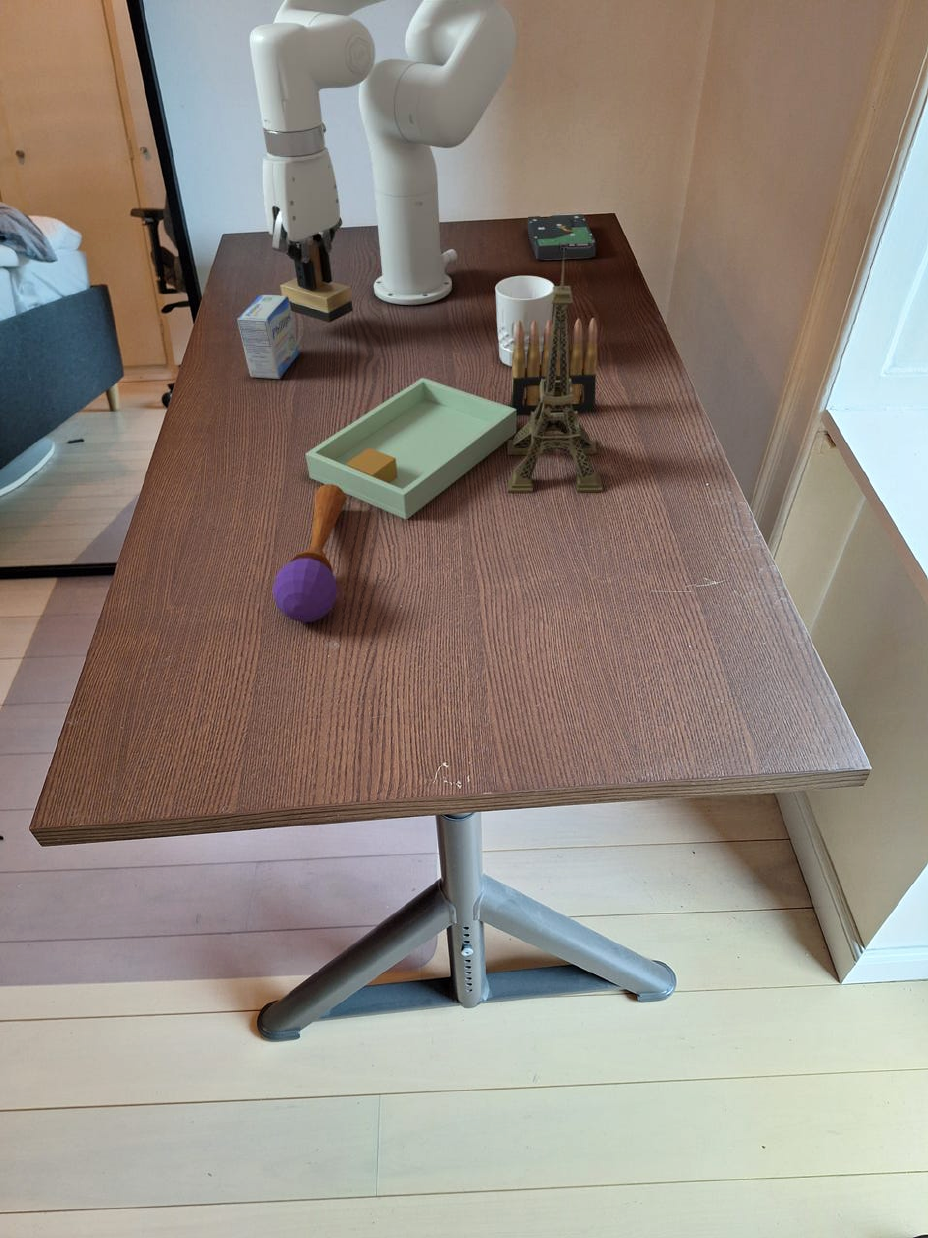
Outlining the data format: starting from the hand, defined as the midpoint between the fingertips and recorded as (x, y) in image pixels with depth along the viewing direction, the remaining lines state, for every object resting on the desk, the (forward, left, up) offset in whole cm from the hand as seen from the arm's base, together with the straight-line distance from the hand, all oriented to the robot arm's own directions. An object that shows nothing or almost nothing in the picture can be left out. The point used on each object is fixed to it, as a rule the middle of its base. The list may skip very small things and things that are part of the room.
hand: (315, 283), depth 121 cm
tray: (+18, +32, -8) cm, 37 cm away
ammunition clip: (0, +40, -8) cm, 41 cm away
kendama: (+40, +37, -8) cm, 55 cm away
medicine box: (+11, +1, -8) cm, 14 cm away
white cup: (-10, +29, -8) cm, 32 cm away
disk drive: (-50, +11, -8) cm, 52 cm away
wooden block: (+25, +32, -7) cm, 41 cm away
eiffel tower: (+11, +47, -8) cm, 49 cm away
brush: (0, 0, -4) cm, 4 cm away
